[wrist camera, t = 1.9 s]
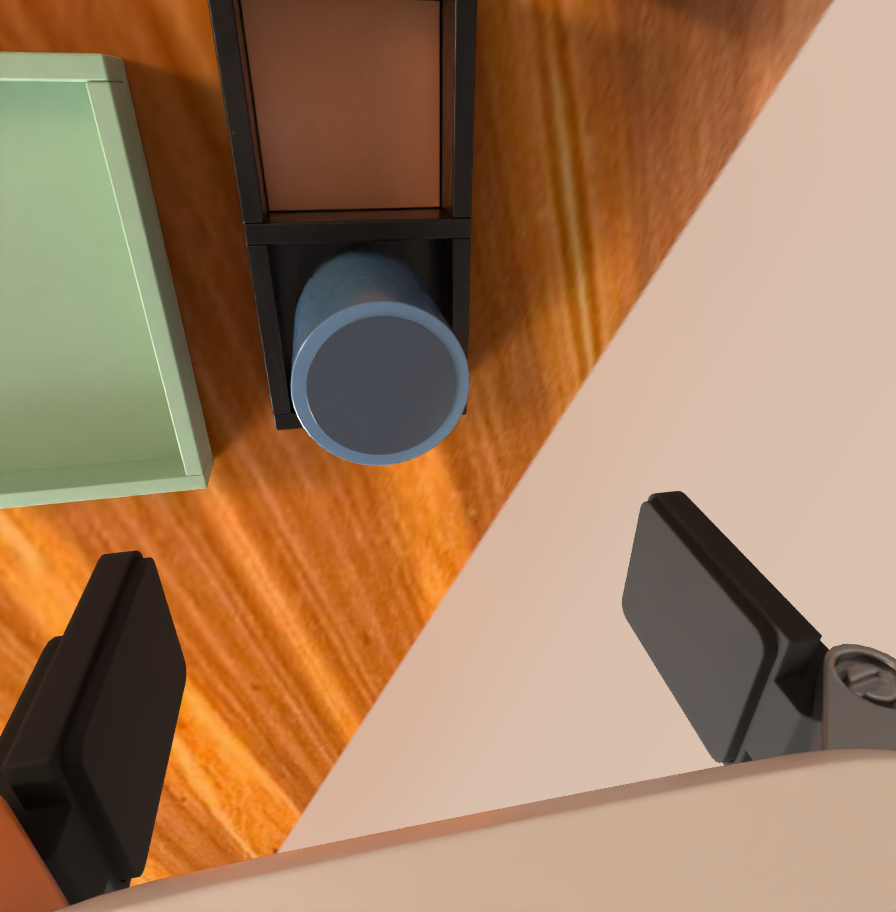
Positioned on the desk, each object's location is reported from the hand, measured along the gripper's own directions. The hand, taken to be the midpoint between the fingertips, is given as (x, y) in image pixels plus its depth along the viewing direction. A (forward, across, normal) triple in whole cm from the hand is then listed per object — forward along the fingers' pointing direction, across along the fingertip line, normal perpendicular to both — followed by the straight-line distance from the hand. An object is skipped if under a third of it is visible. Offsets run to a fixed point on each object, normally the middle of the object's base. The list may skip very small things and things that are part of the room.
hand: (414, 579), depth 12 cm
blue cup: (+19, 0, 0) cm, 19 cm away
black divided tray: (+20, 0, -4) cm, 20 cm away
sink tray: (+20, +16, -1) cm, 25 cm away
